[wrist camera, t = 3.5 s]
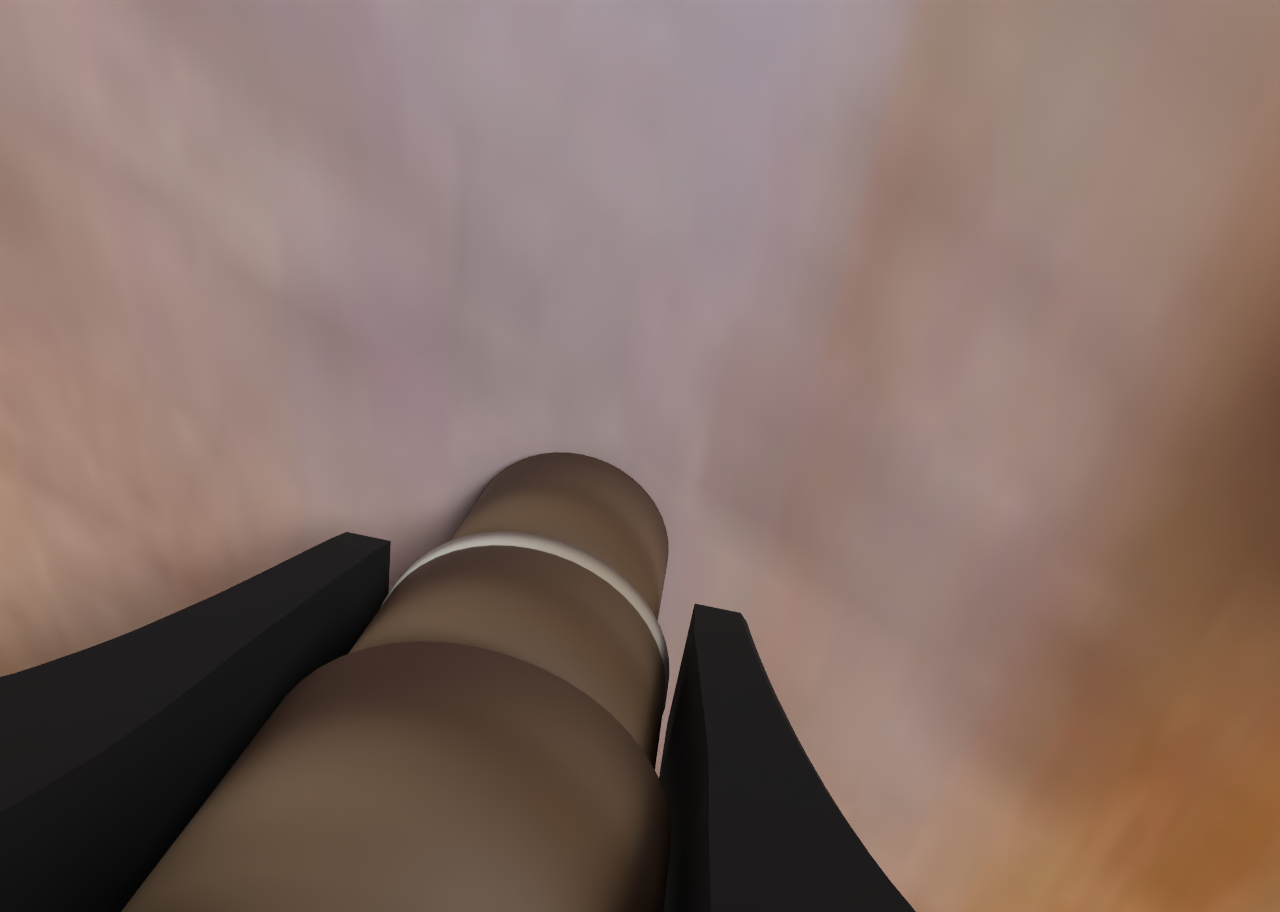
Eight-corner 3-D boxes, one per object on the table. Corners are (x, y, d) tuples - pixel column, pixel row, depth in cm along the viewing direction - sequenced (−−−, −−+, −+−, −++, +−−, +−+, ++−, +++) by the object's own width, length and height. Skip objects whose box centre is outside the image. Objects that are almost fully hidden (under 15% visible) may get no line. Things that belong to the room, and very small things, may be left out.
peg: (433, 624, 14) (109, 1176, 7) (450, 397, 13) (42, 817, 5) (674, 675, 14) (596, 1292, 7) (724, 451, 12) (692, 964, 5)
